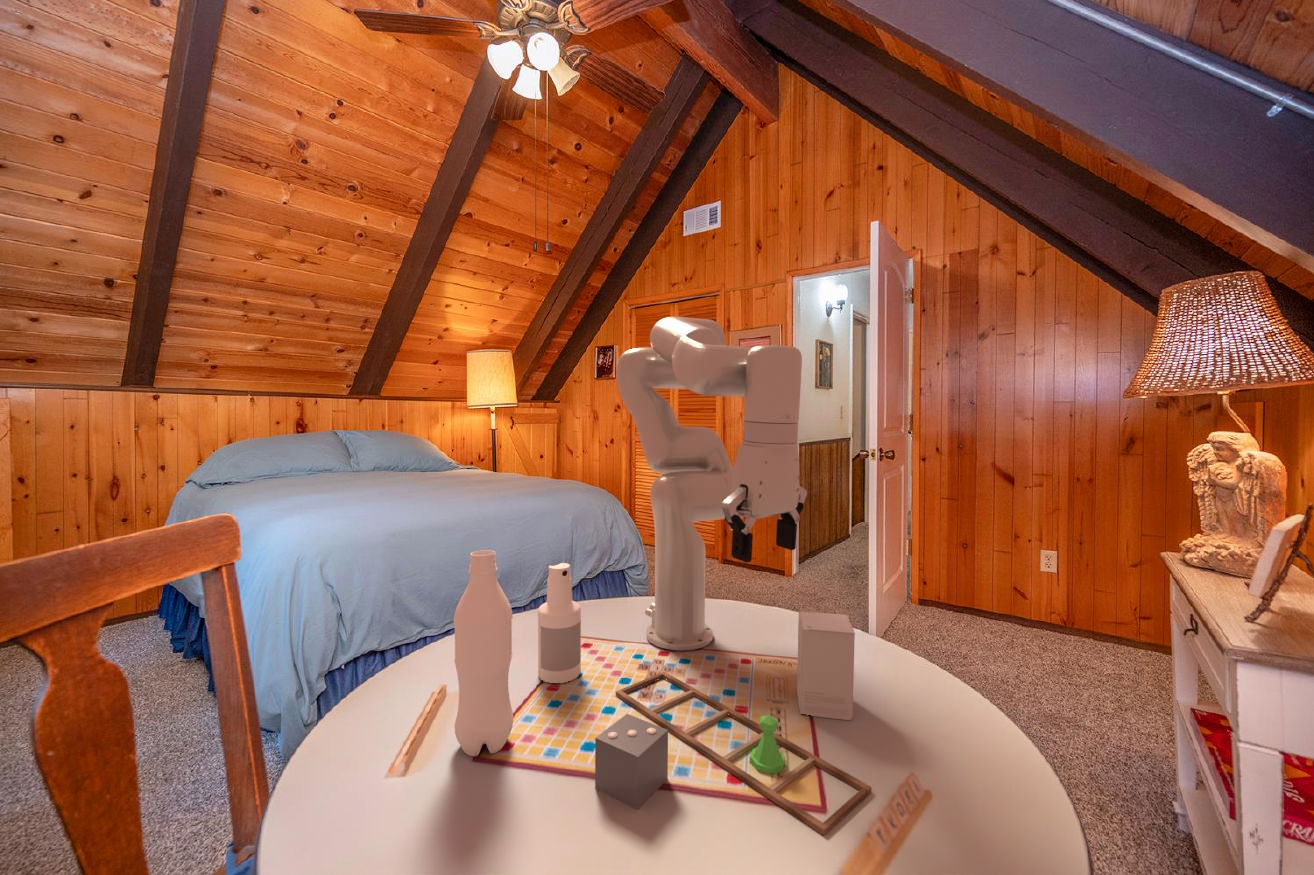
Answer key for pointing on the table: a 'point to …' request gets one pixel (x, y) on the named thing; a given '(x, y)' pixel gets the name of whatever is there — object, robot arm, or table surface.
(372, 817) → the table surface
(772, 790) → the track board
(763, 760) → the game piece
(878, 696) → the table surface
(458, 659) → the water bottle
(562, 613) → the spray bottle
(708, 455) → the robot arm
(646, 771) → the die
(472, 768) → the table surface
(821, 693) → the supplement box
